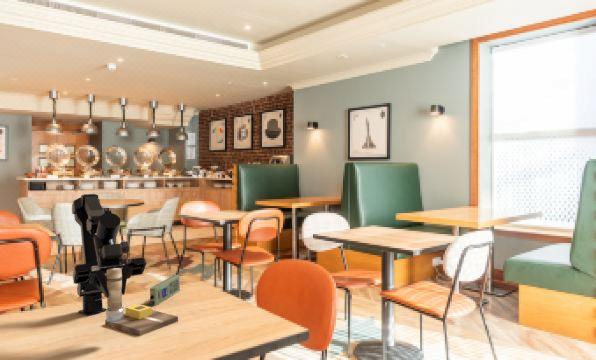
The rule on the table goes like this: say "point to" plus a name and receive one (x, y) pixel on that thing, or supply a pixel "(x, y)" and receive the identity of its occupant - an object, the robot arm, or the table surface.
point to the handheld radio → (164, 290)
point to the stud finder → (138, 311)
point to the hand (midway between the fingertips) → (115, 295)
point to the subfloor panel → (144, 323)
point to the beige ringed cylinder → (114, 295)
